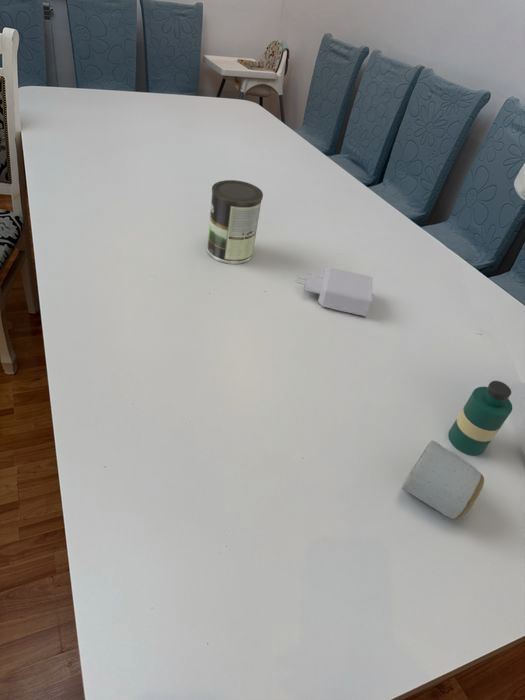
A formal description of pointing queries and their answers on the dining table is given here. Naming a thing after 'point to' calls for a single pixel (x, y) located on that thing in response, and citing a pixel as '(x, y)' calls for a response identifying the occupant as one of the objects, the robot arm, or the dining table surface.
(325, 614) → the dining table surface
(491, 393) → the bottle
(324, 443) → the dining table surface
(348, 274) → the charger
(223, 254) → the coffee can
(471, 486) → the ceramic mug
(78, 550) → the dining table surface
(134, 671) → the dining table surface
